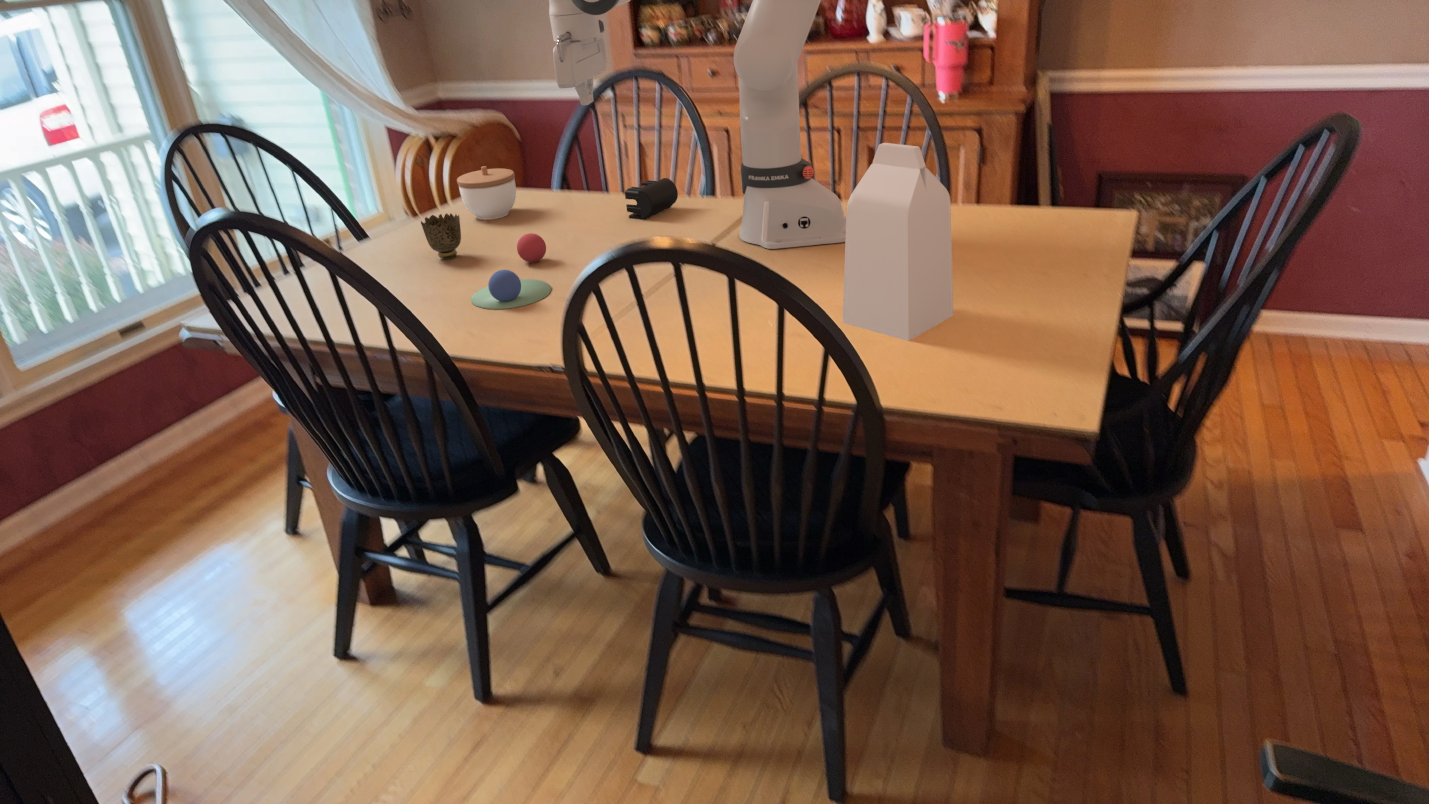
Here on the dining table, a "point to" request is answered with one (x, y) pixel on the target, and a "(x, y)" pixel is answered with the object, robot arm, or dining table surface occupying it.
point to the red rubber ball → (531, 247)
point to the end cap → (651, 198)
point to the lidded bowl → (488, 192)
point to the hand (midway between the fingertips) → (587, 104)
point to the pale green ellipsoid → (527, 295)
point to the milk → (898, 247)
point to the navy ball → (504, 285)
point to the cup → (443, 234)
